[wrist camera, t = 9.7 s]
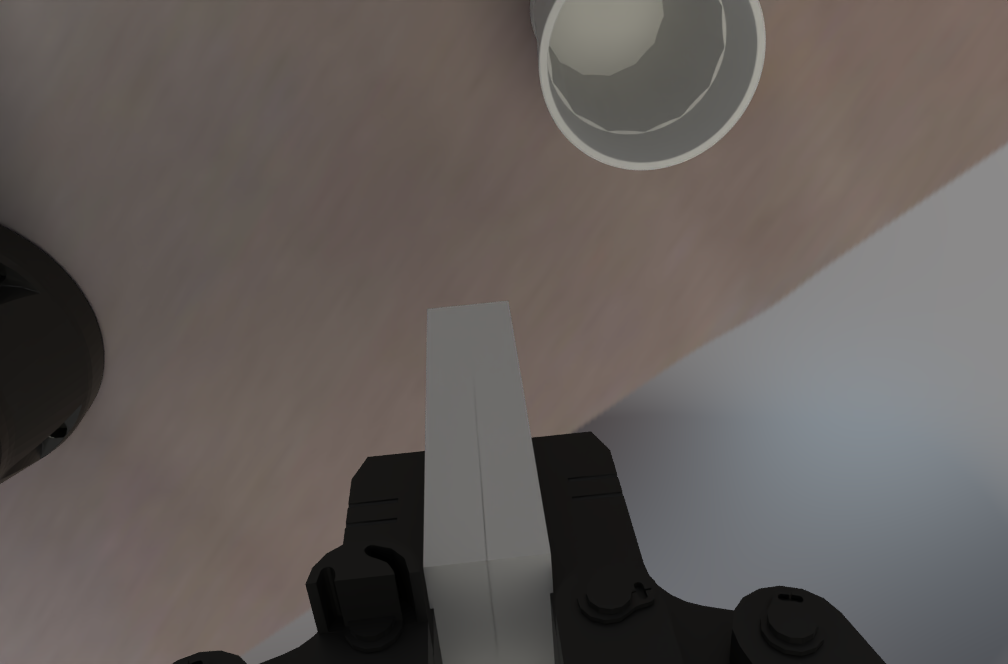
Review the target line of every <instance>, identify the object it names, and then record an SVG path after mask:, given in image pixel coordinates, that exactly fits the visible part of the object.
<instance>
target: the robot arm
mask: <svg viewBox="0 0 1008 664" xmlns="http://www.w3.org/2000/svg"><path fill="white" fill-rule="evenodd" d="M103 369H104V350H103V343H102V338H101V334H100V330H99V327H98V324H97V321H96V319H95V316H94V314H93V312H92V310H91V308H90V306H89V304H88V302H87V301H86V299H85V297H84V296H83V294H82V293H81V291H80V290H79V288H78V287H77V286H76V285H75V283H74V282H73V281H72V279H71V278H70V277H69V276H68V275H67V274H66V273H65V271H64V270H63V269H62V268H61V267H60V266H59V265H58V264H57V263H55V262H54V261H53V260H52V259H51V258H50V257H49V256H48V255H46V254H45V253H44V252H42V251H41V250H40V249H39V248H37V247H36V246H34V245H33V244H32V243H30V242H29V241H27V240H26V239H24V238H22V237H21V236H19V235H17V234H16V233H14V232H12V231H10V230H8V229H6V228H4V227H2V226H0V484H1V483H3V482H4V481H6V480H8V479H9V478H11V477H12V476H14V475H16V474H17V473H19V472H20V471H22V470H24V469H25V468H27V467H28V466H30V465H32V464H33V463H35V462H36V461H38V460H40V459H41V458H43V457H44V456H46V455H48V454H49V453H51V452H52V451H53V450H55V449H56V448H57V447H58V446H60V445H61V444H62V443H63V442H64V441H65V440H66V439H67V438H68V437H69V436H70V435H71V434H72V433H73V431H74V430H75V429H76V427H77V426H78V425H79V423H80V421H81V420H82V418H83V417H84V415H85V414H86V412H87V411H88V409H89V407H90V406H91V404H92V403H93V401H94V399H95V397H96V395H97V393H98V390H99V387H100V384H101V380H102V376H103ZM306 588H307V592H308V596H309V600H310V604H311V607H312V611H313V615H314V619H315V623H316V626H317V630H318V632H317V634H315V635H314V636H313V637H312V638H311V639H309V640H308V641H307V642H305V643H304V644H302V645H301V646H300V647H298V648H296V649H294V650H292V651H289V652H287V653H285V654H283V655H281V656H278V657H276V658H273V659H270V660H268V661H265V662H263V663H260V664H886V663H885V662H884V661H883V660H882V659H881V657H880V656H879V655H878V654H877V653H876V652H875V651H874V649H872V647H871V646H870V645H869V644H868V643H867V641H866V640H865V639H864V638H863V637H862V636H861V635H860V634H859V632H858V631H857V630H856V629H855V628H854V627H853V626H852V625H851V623H850V622H849V621H848V620H847V619H846V618H845V616H844V615H843V614H842V613H841V612H840V611H838V610H837V609H836V608H835V607H834V606H832V605H831V604H830V603H829V602H828V601H826V600H825V599H824V598H822V597H819V596H817V595H815V594H813V593H810V592H808V591H806V590H803V589H798V588H791V587H785V586H775V587H768V588H761V589H758V590H756V591H754V592H752V593H751V594H749V595H747V596H745V597H743V598H742V600H741V601H740V603H739V604H738V606H737V607H736V608H735V610H734V611H733V610H726V609H720V608H714V607H707V606H701V605H697V604H693V603H689V602H686V601H683V600H681V599H679V598H677V597H675V596H672V595H670V594H669V593H668V592H666V591H665V590H664V589H662V588H661V587H659V586H658V585H657V584H656V583H655V581H654V580H653V579H652V578H651V577H650V576H649V574H648V572H647V570H646V568H645V565H644V563H643V559H642V556H641V553H640V549H639V546H638V543H637V539H636V536H635V533H634V530H633V526H632V523H631V519H630V516H629V513H628V509H627V506H626V502H625V499H624V496H623V494H622V489H621V486H620V482H619V479H618V477H617V472H616V469H615V465H614V462H613V459H612V455H611V452H610V450H609V449H608V448H607V447H606V446H605V445H604V444H603V443H602V442H601V441H600V440H599V439H598V438H597V437H596V436H595V435H594V434H593V433H592V432H582V433H572V434H563V435H553V436H544V437H534V438H531V433H530V427H529V421H528V415H527V409H526V403H525V397H524V391H523V385H522V379H521V373H520V367H519V361H518V355H517V349H516V343H515V337H514V332H513V326H512V320H511V314H510V308H509V302H508V301H501V302H491V303H481V304H471V305H461V306H451V307H441V308H432V309H427V359H426V422H425V451H421V452H411V453H402V454H392V455H383V456H373V457H367V459H366V460H365V462H364V463H363V464H362V466H361V467H360V469H359V470H358V471H357V473H356V474H355V476H354V477H353V478H352V481H351V489H350V496H349V508H348V511H347V519H346V528H345V534H344V541H343V545H341V546H340V547H338V548H336V549H334V550H332V551H330V552H329V553H327V554H326V555H325V556H324V557H323V558H322V559H321V560H320V561H319V562H318V563H317V564H316V565H315V566H314V567H313V568H312V570H311V572H310V575H309V577H308V579H307V582H306ZM173 664H246V662H245V661H243V659H242V658H241V657H240V656H238V655H234V654H231V653H227V652H224V651H209V652H199V653H196V654H193V655H191V656H188V657H185V658H183V659H180V660H177V661H176V662H174V663H173Z"/></svg>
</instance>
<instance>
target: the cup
mask: <svg viewBox="0 0 1008 664" xmlns="http://www.w3.org/2000/svg"><path fill="white" fill-rule="evenodd" d="M530 18H531V24H532V29H533V32H534V35H535V37H536V40H537V51H538V66H539V78H540V85H541V89H542V93H543V97H544V100H545V103H546V106H547V108H548V110H549V113H550V115H551V117H552V118H553V120H554V122H555V123H556V125H557V127H558V128H559V129H560V131H561V132H562V133H563V134H564V136H565V137H566V138H567V139H568V140H569V141H570V142H571V143H572V144H573V145H574V146H575V147H577V148H578V149H579V150H580V151H582V152H583V153H585V154H586V155H588V156H590V157H591V158H593V159H595V160H597V161H599V162H602V163H604V164H607V165H610V166H613V167H617V168H622V169H628V170H654V169H661V168H666V167H670V166H673V165H677V164H680V163H682V162H685V161H687V160H689V159H691V158H693V157H695V156H697V155H699V154H701V153H702V152H704V151H706V150H707V149H709V148H710V147H711V146H713V145H714V144H715V143H717V142H718V141H719V140H720V139H721V138H722V137H723V136H724V135H725V134H726V133H728V131H729V130H730V129H731V128H732V127H733V126H734V125H735V124H736V122H737V121H738V120H739V118H740V117H741V116H742V114H743V113H744V111H745V110H746V108H747V106H748V105H749V103H750V101H751V99H752V97H753V95H754V93H755V90H756V88H757V85H758V83H759V80H760V76H761V73H762V69H763V64H764V58H765V48H766V33H765V23H764V18H763V13H762V9H761V6H760V3H759V0H531V1H530Z"/></svg>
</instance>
